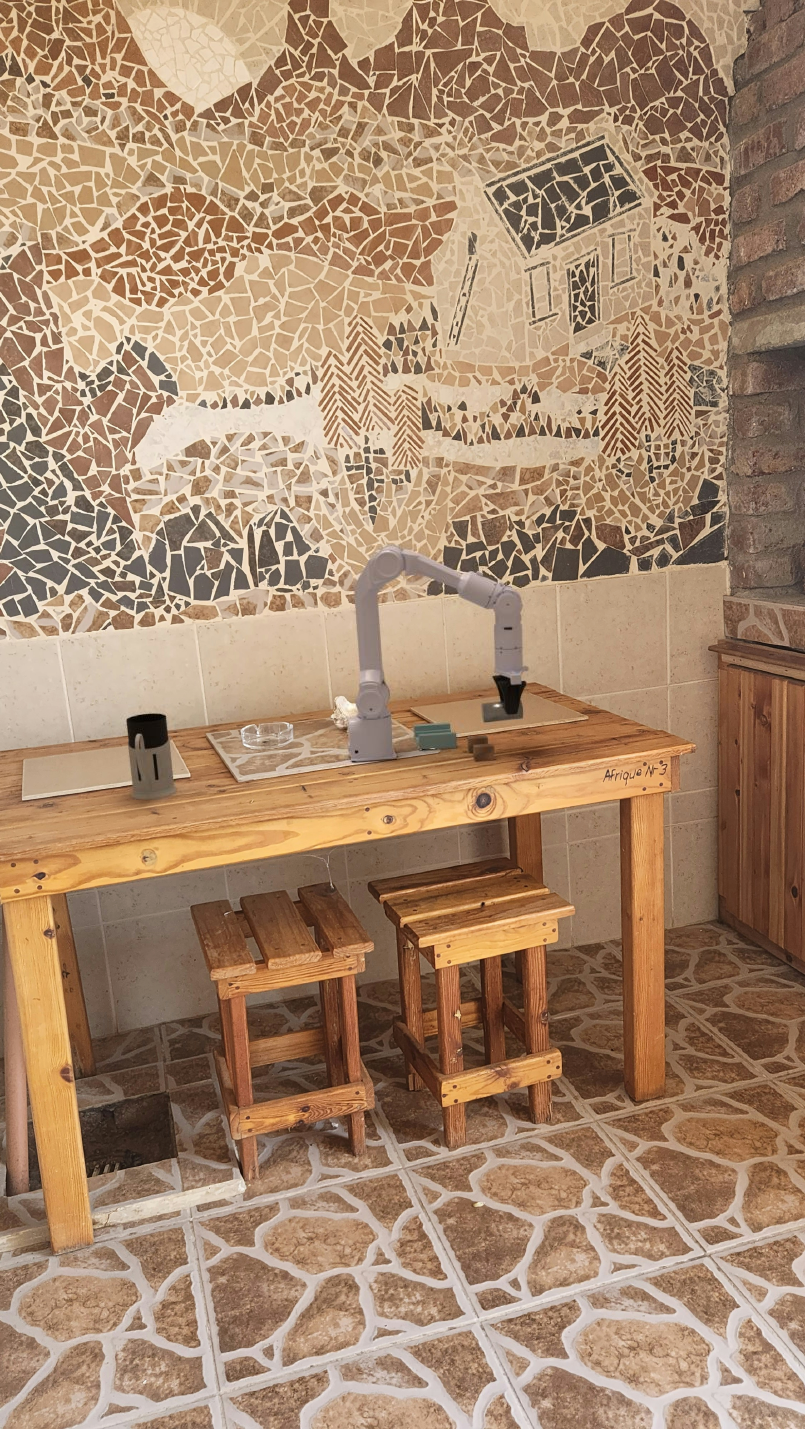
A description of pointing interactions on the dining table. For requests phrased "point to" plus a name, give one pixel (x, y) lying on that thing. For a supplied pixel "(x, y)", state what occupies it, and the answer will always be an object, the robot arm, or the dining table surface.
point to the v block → (435, 736)
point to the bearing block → (480, 748)
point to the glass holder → (150, 757)
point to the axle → (498, 712)
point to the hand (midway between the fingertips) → (509, 711)
